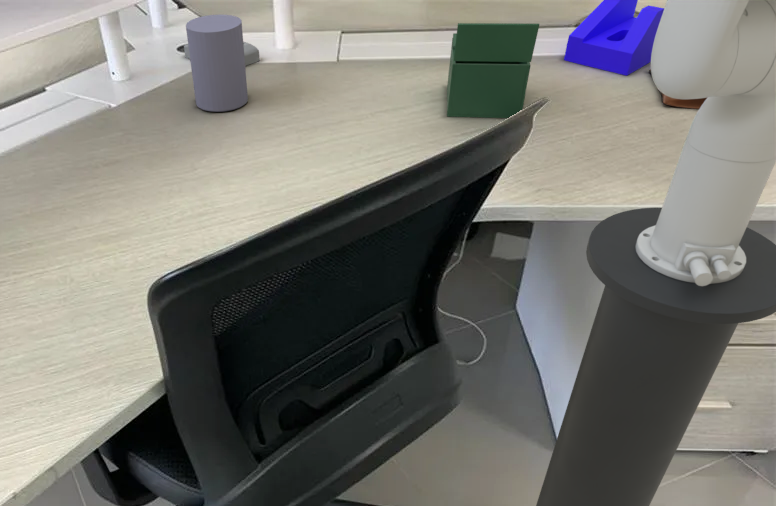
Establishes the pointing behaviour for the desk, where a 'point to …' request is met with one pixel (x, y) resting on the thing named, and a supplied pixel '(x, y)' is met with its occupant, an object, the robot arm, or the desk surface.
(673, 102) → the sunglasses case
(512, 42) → the flap
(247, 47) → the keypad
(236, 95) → the container
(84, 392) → the desk surface
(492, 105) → the carton
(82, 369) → the desk surface
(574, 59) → the bracket
